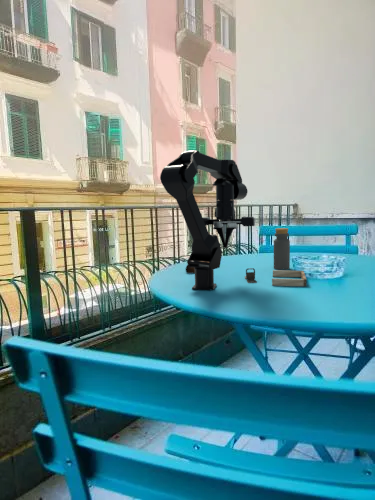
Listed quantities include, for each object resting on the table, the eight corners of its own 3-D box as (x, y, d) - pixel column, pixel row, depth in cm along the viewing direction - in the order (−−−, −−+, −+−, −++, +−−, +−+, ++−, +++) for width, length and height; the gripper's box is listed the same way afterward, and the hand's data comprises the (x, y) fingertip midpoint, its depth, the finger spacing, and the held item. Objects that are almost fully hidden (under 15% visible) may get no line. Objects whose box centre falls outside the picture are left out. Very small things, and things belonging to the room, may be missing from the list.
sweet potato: (208, 273, 131) (198, 257, 131) (192, 282, 133) (182, 267, 133) (217, 264, 148) (209, 250, 148) (203, 272, 150) (195, 259, 150)
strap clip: (244, 278, 123) (243, 266, 122) (253, 278, 123) (252, 265, 122) (247, 284, 115) (247, 270, 114) (257, 283, 114) (257, 270, 114)
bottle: (291, 269, 133) (291, 229, 131) (275, 270, 134) (275, 229, 131) (287, 266, 139) (287, 227, 137) (272, 267, 139) (272, 228, 137)
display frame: (306, 286, 108) (306, 279, 108) (272, 285, 110) (272, 279, 110) (303, 276, 121) (303, 270, 121) (272, 276, 123) (272, 270, 123)
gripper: (255, 199, 122) (255, 245, 125) (201, 200, 127) (202, 244, 129) (253, 199, 112) (253, 249, 114) (194, 201, 116) (195, 249, 118)
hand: (225, 248), depth 119 cm, fingers closed
